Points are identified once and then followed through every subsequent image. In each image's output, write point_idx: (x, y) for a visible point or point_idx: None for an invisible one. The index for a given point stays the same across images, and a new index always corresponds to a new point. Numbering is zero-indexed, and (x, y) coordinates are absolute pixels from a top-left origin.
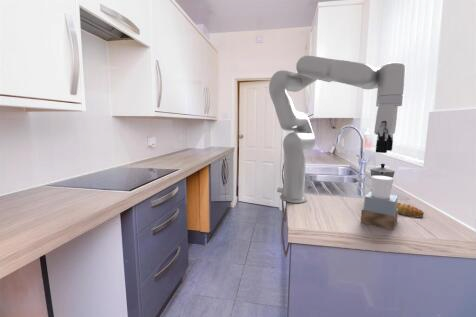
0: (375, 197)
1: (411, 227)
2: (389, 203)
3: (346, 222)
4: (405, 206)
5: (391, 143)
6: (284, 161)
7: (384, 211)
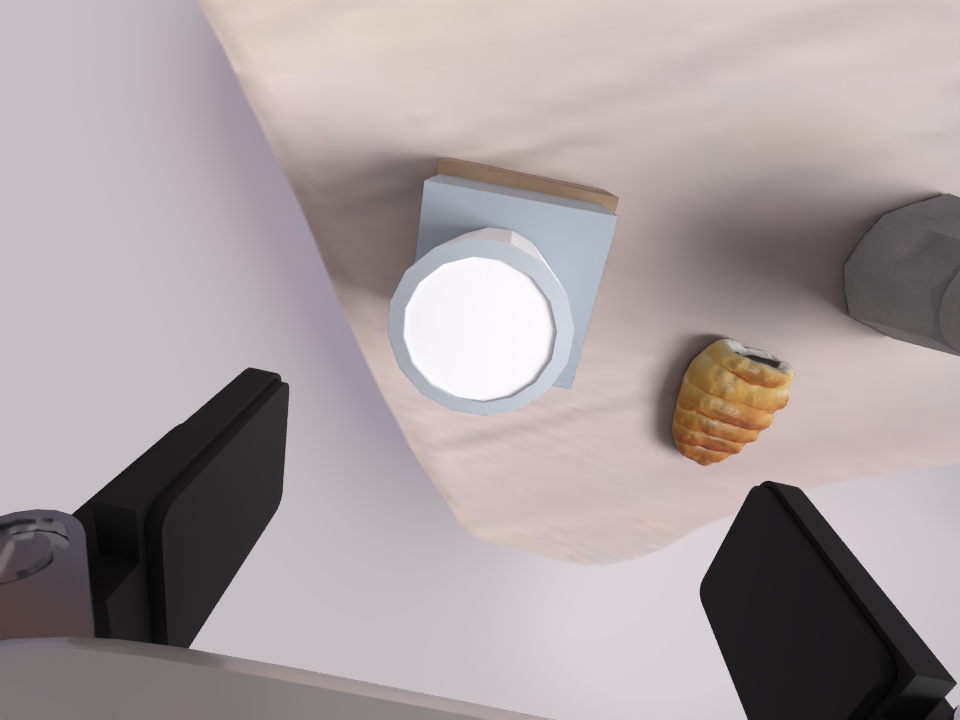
0: None
1: None
2: None
3: (401, 76)
4: (720, 402)
5: (749, 709)
6: None
7: None
